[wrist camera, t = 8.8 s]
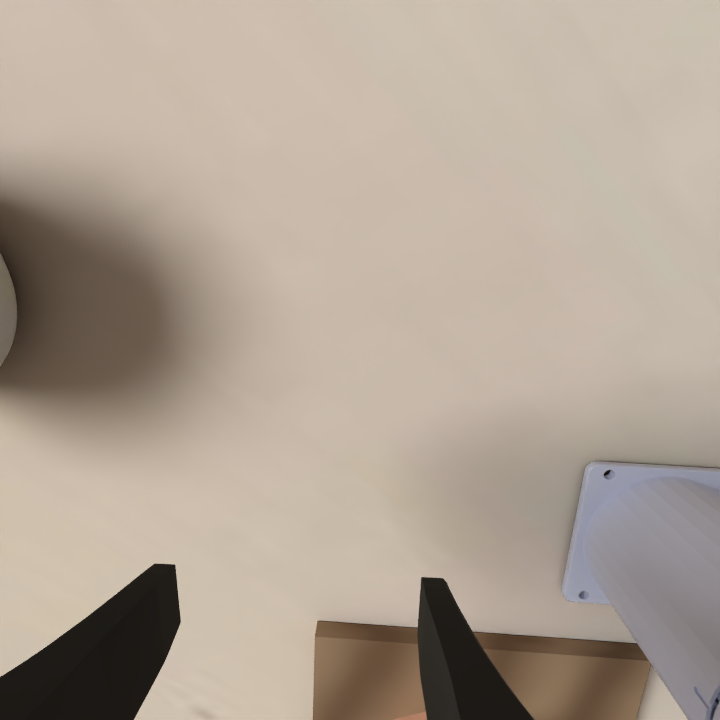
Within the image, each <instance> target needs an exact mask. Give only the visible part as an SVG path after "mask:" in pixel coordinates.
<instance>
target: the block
mask: <svg viewBox="0 0 720 720" xmlns="http://www.w3.org/2000/svg"><path fill="white" fill-rule="evenodd" d="M394 720H427V716H426V712H422V713H418V714H414V715H410V716H406V717H402V718H398V719H394Z"/></svg>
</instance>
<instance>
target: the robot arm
mask: <svg viewBox="0 0 720 720" xmlns="http://www.w3.org/2000/svg"><path fill="white" fill-rule="evenodd" d="M607 470H611V471H610V473H609V474H608V475H604V473H605V472H606V471H607ZM582 591H584V592H583V593H580V592H582ZM562 593H563V595H564V597H565V599H566V600H568V601H571V602H583V603H597V604H611V605H612V606H613V608H614V609H615V611H616V612H617V614H618V615H619V617H620V618H621V620H622V621H623V623H624V624H625V626H626V627H627V629H628V630H629V632H630V633H631V635H632V636H633V638H634V639H635V641H636V642H637V644H638V645H639V647H640V648H641V650H642V651H643V653H644V654H645V656H646V657H647V659H648V660H649V662H650V663H651V665H652V666H653V668H654V669H655V671H656V672H657V674H658V675H659V677H660V678H661V680H662V681H663V683H664V684H665V686H666V687H667V689H668V690H669V692H670V693H671V695H672V696H673V698H674V699H675V701H676V702H677V704H678V705H679V707H680V708H681V710H682V711H683V713H684V714H685V716H686V717H687V719H688V720H720V469H718V468H701V467H685V466H668V465H651V464H635V463H618V462H602V461H595V462H591V463H589V464H588V465H587V466H586V469H585V472H584V477H583V482H582V487H581V493H580V498H579V503H578V508H577V513H576V518H575V523H574V528H573V533H572V538H571V543H570V549H569V554H568V559H567V564H566V569H565V574H564V579H563V584H562ZM579 593H580V594H579ZM180 622H181V620H180V610H179V600H178V589H177V579H176V569H175V565H171V564H154V565H152V566H151V567H150V568H148V569H147V570H146V571H145V572H143V573H142V574H141V575H140V576H138V577H137V578H136V579H135V580H133V581H132V582H131V583H130V584H128V585H127V586H126V587H125V588H123V589H122V590H121V591H120V592H118V593H117V594H116V595H115V596H113V597H112V598H111V599H109V600H108V601H107V602H106V603H104V604H103V605H102V606H101V607H99V608H98V609H97V610H95V611H94V612H93V613H92V614H90V615H89V616H88V617H86V618H85V619H84V620H82V621H81V622H80V623H78V624H77V625H76V626H74V627H73V628H71V629H70V630H69V631H67V632H66V633H65V634H63V635H62V636H61V637H59V638H58V639H56V640H55V641H54V642H52V643H51V644H50V645H48V646H47V647H45V648H44V649H42V650H41V651H40V652H38V653H37V654H35V655H34V656H32V657H31V658H29V659H28V660H26V661H25V662H23V663H22V664H20V665H19V666H17V667H15V668H14V669H12V670H11V671H9V672H8V673H6V674H4V675H3V676H1V677H0V720H134V718H135V716H136V714H137V713H138V711H139V709H140V707H141V705H142V703H143V701H144V700H145V698H146V696H147V694H148V692H149V690H150V688H151V687H152V685H153V683H154V681H155V679H156V677H157V675H158V673H159V671H160V669H161V668H162V666H163V664H164V662H165V660H166V657H167V655H168V652H169V650H170V648H171V645H172V643H173V640H174V638H175V635H176V633H177V630H178V628H179V625H180ZM417 638H418V653H419V667H420V678H421V685H422V691H423V697H424V703H425V710H426V716H427V720H535V719H534V718H533V717H532V716H531V715H530V713H529V712H528V711H527V710H526V708H525V707H524V706H523V704H522V703H521V702H520V701H519V699H518V698H517V697H516V695H515V694H514V693H513V691H512V690H511V689H510V687H509V686H508V685H507V683H506V682H505V680H504V679H503V678H502V676H501V675H500V673H499V672H498V670H497V669H496V667H495V666H494V665H493V663H492V662H491V660H490V659H489V657H488V656H487V654H486V652H485V651H484V649H483V648H482V646H481V645H480V643H479V641H478V640H477V638H476V636H475V635H474V633H473V632H472V630H471V628H470V627H469V625H468V623H467V621H466V620H465V618H464V616H463V614H462V612H461V611H460V609H459V607H458V605H457V603H456V601H455V599H454V597H453V595H452V593H451V591H450V589H449V587H448V585H447V582H446V581H445V580H444V579H443V578H426V577H421V591H420V605H419V619H418V632H417Z"/></svg>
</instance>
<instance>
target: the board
mask: <svg viewBox="0 0 720 720" xmlns="http://www.w3.org/2000/svg"><path fill="white" fill-rule="evenodd" d="M417 632H418V628H408V627H394V626H380V625H366V624H352V623H338V622H324V621H318V622H317V628H316V634H315V659H314V700H313V720H394V719H398V718H402V717H406V716H410V715H414V714H418V713H422V712H426V710H425V703H424V697H423V691H422V685H421V678H420V667H419V653H418V638H417ZM473 633H474V635H475V636H476V638H477V640H478V641H479V643H480V645H481V646H482V648H483V649H484V651H485V652H486V654H487V656H488V657H489V659H490V660H491V662H492V663H493V665H494V666H495V667H496V669H497V670H498V672H499V673H500V675H501V676H502V678H503V679H504V680H505V682H506V683H507V685H508V686H509V687H510V689H511V690H512V691H513V693H514V694H515V695H516V697H517V698H518V699H519V701H520V702H521V703H522V704H523V706H524V707H525V708H526V710H527V711H528V712H529V713H530V715H531V716H532V717H533V718H534V719H535V720H636V717H637V714H638V710H639V706H640V703H641V699H642V695H643V692H644V688H645V684H646V681H647V677H648V673H649V670H650V666H651V663H650V662H649V660H648V659H647V657H646V656H645V654H644V653H643V651H642V650H641V648H640V647H639V645H638V644H631V643H617V642H603V641H589V640H575V639H561V638H547V637H533V636H519V635H505V634H491V633H477V632H473Z"/></svg>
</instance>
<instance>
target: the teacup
mask: <svg viewBox="0 0 720 720" xmlns="http://www.w3.org/2000/svg"><path fill="white" fill-rule="evenodd" d="M16 324H17V303H16V295H15V290H14V286H13V283H12V280H11V277H10V274H9V271H8V269H7V267H6V264H5V262H4V260H3V257H2V255H1V254H0V366H1V365H2V363H3V362H4V360H5V358H6V357H7V355H8V353H9V351H10V348H11V346H12V343H13V340H14V336H15V331H16Z"/></svg>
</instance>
